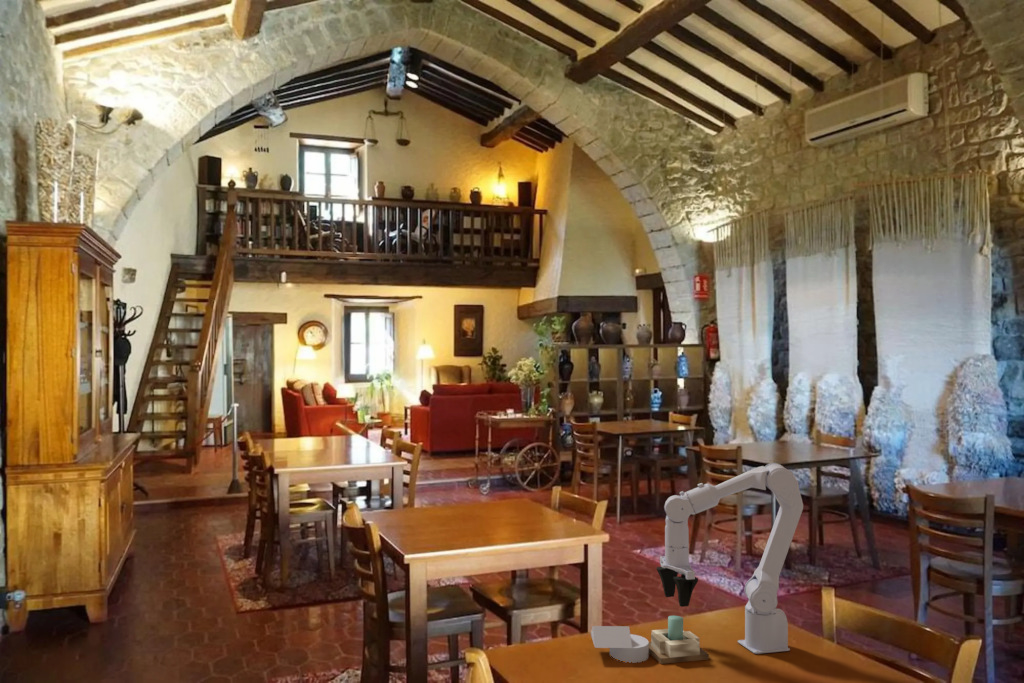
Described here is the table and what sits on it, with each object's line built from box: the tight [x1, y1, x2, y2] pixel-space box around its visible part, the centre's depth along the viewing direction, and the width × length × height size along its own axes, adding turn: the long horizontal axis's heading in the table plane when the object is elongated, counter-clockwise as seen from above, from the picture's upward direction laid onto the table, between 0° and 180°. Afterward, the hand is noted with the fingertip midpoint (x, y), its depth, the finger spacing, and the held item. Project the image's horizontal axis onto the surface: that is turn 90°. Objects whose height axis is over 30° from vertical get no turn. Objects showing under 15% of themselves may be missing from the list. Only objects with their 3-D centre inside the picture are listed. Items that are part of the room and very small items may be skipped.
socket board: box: [648, 628, 710, 665], centre depth 180 cm, size 12×10×4 cm
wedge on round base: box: [590, 625, 650, 664], centre depth 179 cm, size 9×7×13 cm
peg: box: [667, 615, 684, 641], centre depth 180 cm, size 4×4×7 cm
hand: (676, 601), depth 187 cm, fingers open, 7 cm apart
